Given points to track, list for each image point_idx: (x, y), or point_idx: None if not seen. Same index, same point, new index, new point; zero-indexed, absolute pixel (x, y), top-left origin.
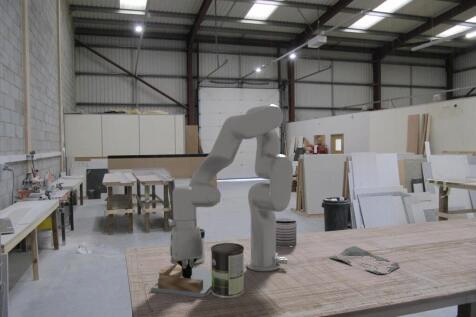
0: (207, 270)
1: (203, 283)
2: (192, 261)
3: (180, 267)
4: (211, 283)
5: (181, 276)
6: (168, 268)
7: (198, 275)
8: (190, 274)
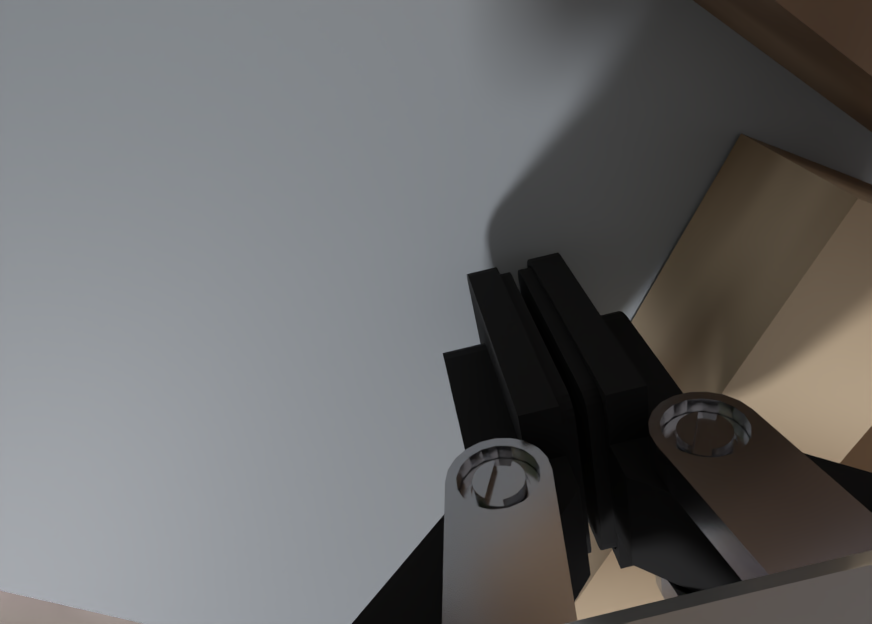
0: (162, 602)
1: (219, 83)
2: (484, 582)
3: (634, 588)
4: (29, 40)
5: None
6: None
7: (308, 462)
8: (491, 317)
